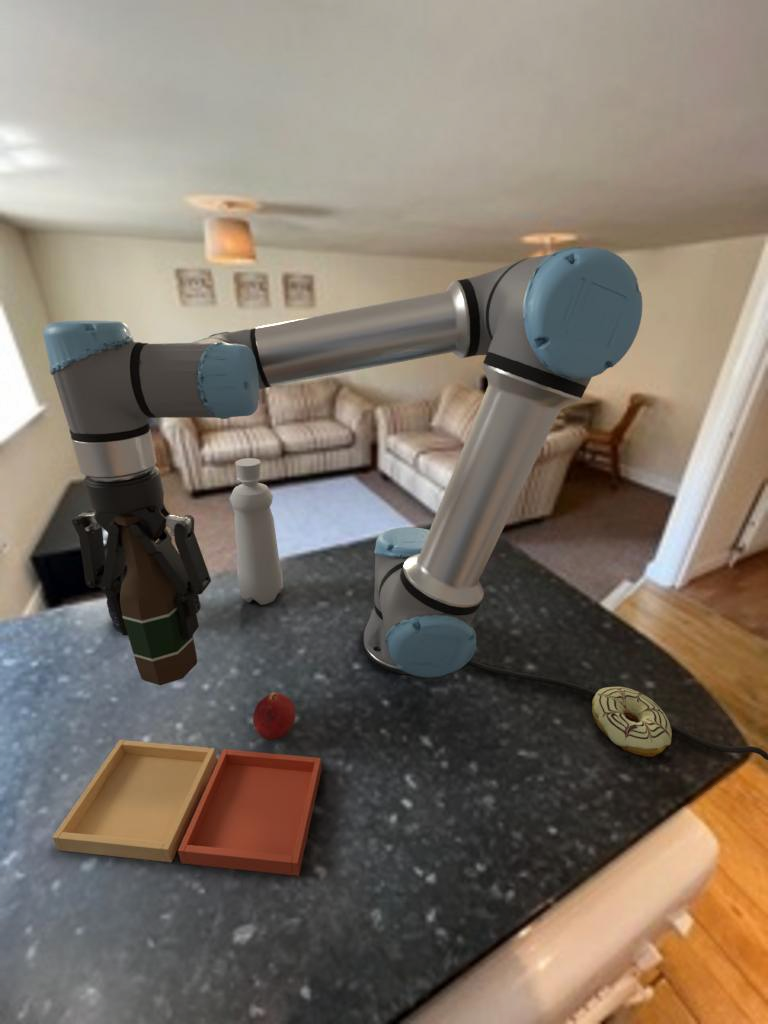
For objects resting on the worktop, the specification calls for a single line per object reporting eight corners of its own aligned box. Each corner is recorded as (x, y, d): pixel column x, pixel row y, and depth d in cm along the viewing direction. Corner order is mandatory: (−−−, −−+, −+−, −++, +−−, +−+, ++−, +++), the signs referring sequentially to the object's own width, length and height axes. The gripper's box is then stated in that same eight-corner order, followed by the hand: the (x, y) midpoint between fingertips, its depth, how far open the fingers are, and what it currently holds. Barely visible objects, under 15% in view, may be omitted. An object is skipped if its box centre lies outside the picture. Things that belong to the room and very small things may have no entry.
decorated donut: (612, 762, 63) (619, 744, 61) (577, 700, 72) (582, 683, 71) (682, 758, 64) (691, 740, 62) (638, 698, 73) (644, 681, 72)
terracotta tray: (321, 770, 61) (321, 757, 59) (298, 876, 49) (297, 863, 48) (225, 761, 61) (223, 748, 60) (181, 863, 50) (177, 850, 49)
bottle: (231, 604, 93) (212, 467, 80) (252, 580, 101) (237, 452, 88) (272, 611, 91) (259, 472, 78) (290, 586, 99) (281, 457, 86)
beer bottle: (151, 647, 66) (111, 497, 55) (206, 644, 66) (176, 496, 56) (129, 688, 59) (78, 526, 48) (190, 685, 59) (152, 524, 49)
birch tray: (217, 760, 61) (215, 748, 60) (171, 862, 50) (167, 849, 49) (123, 751, 62) (119, 739, 61) (58, 850, 51) (51, 837, 50)
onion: (287, 756, 62) (283, 715, 59) (248, 747, 63) (242, 707, 60) (302, 721, 67) (299, 682, 64) (266, 714, 68) (262, 675, 65)
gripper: (223, 463, 53) (246, 617, 63) (58, 456, 54) (105, 608, 64) (194, 486, 46) (224, 655, 56) (6, 478, 47) (68, 645, 57)
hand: (161, 630), depth 60 cm, fingers closed on beer bottle, 8 cm apart
